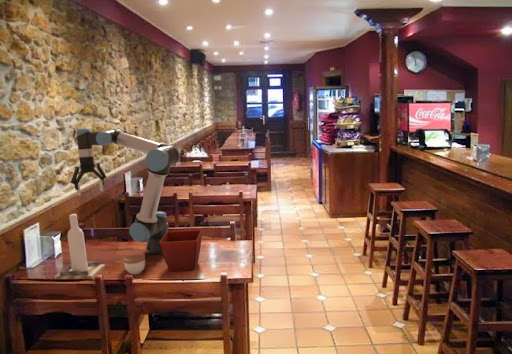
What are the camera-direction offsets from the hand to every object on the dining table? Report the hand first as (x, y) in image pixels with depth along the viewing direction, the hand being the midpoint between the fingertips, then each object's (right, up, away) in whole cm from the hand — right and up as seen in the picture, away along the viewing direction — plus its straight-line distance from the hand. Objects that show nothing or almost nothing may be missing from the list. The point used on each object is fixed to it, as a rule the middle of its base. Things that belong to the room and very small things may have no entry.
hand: (90, 193), depth 271 cm
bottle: (+2, -40, -21) cm, 45 cm away
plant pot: (+56, -38, -21) cm, 71 cm away
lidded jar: (+32, -40, -25) cm, 57 cm away
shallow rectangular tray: (+2, -41, -21) cm, 46 cm away
